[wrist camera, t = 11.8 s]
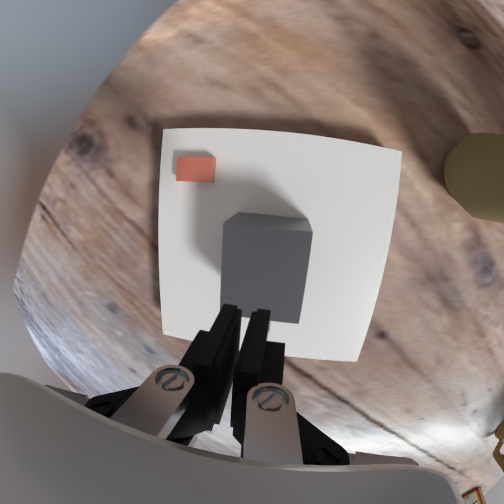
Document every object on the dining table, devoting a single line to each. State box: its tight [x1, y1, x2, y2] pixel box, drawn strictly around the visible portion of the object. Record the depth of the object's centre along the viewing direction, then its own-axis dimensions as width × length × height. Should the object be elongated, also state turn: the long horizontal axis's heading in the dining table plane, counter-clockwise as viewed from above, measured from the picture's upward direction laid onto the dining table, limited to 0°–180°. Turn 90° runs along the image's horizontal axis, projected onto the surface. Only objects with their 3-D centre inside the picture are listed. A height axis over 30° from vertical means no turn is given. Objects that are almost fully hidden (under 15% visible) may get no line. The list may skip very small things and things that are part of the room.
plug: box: [220, 212, 313, 332], centre depth 22 cm, size 9×6×8 cm, turn 176°
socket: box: [158, 128, 402, 362], centre depth 23 cm, size 20×20×4 cm
